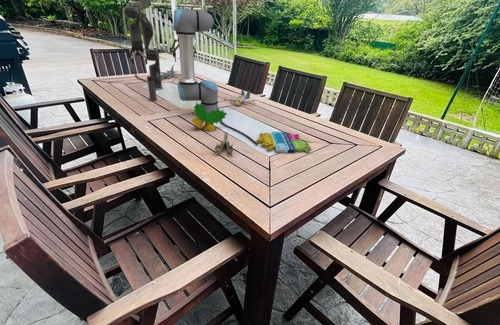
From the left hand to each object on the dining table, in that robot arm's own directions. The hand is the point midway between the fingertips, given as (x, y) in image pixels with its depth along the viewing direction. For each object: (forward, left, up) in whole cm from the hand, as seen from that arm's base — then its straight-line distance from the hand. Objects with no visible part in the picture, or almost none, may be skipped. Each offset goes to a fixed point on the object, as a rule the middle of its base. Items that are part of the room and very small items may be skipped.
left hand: (139, 64), depth 190 cm
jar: (-4, +6, -28) cm, 29 cm away
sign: (+84, +84, -28) cm, 122 cm away
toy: (+1, +77, -28) cm, 82 cm away
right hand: (-17, +32, 0) cm, 36 cm away
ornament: (+59, +44, -28) cm, 78 cm away
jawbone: (+91, +49, -28) cm, 107 cm away
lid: (-4, +6, -10) cm, 12 cm away
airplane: (-90, +14, -28) cm, 95 cm away
